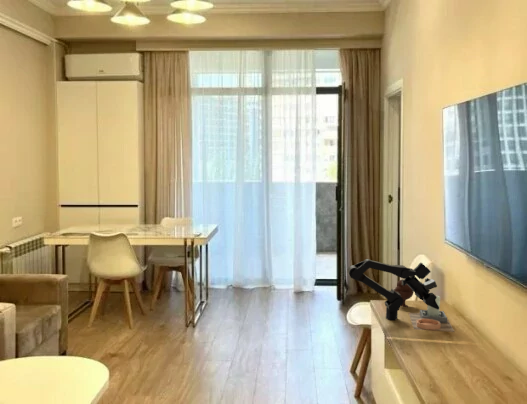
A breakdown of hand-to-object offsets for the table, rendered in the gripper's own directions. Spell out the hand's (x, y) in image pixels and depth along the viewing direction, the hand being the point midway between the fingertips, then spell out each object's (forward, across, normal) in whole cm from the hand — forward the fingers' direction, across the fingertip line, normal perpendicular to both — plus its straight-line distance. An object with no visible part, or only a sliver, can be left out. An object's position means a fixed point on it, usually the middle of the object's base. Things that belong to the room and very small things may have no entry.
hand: (436, 306), depth 304 cm
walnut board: (+2, -6, +8) cm, 10 cm away
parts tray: (+3, 0, +5) cm, 6 cm away
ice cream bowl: (-2, +25, +12) cm, 27 cm away
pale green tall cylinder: (+3, 0, +5) cm, 6 cm away
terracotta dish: (-1, -12, +10) cm, 16 cm away
